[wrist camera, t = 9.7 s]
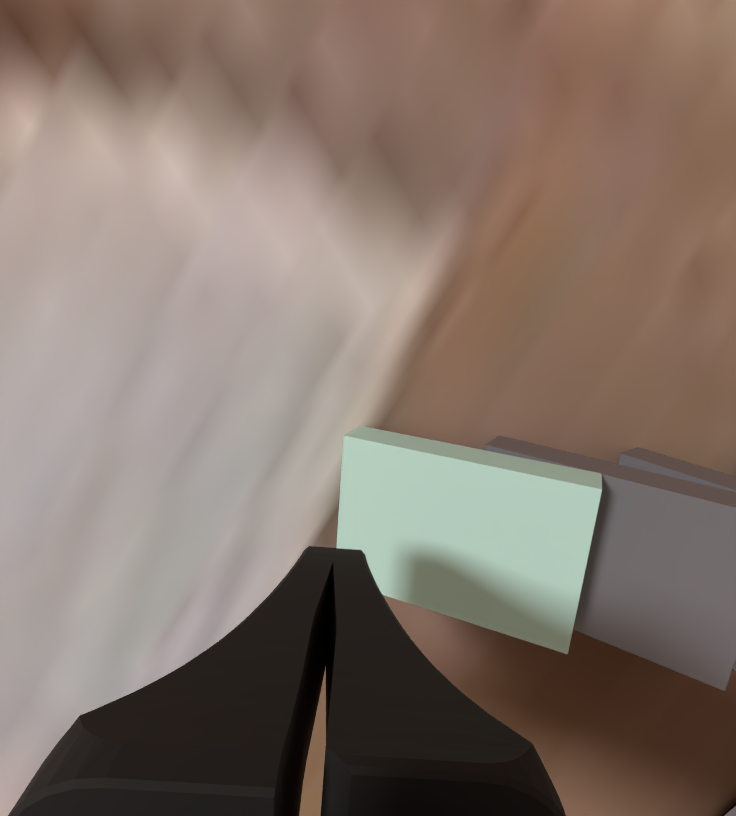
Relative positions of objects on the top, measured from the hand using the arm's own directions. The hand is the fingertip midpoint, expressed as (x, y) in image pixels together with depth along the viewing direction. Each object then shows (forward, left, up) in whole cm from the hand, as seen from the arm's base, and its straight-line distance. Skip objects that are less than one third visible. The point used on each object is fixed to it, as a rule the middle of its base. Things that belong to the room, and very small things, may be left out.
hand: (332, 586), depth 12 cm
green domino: (0, 0, -4) cm, 4 cm away
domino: (-4, -2, -4) cm, 6 cm away
